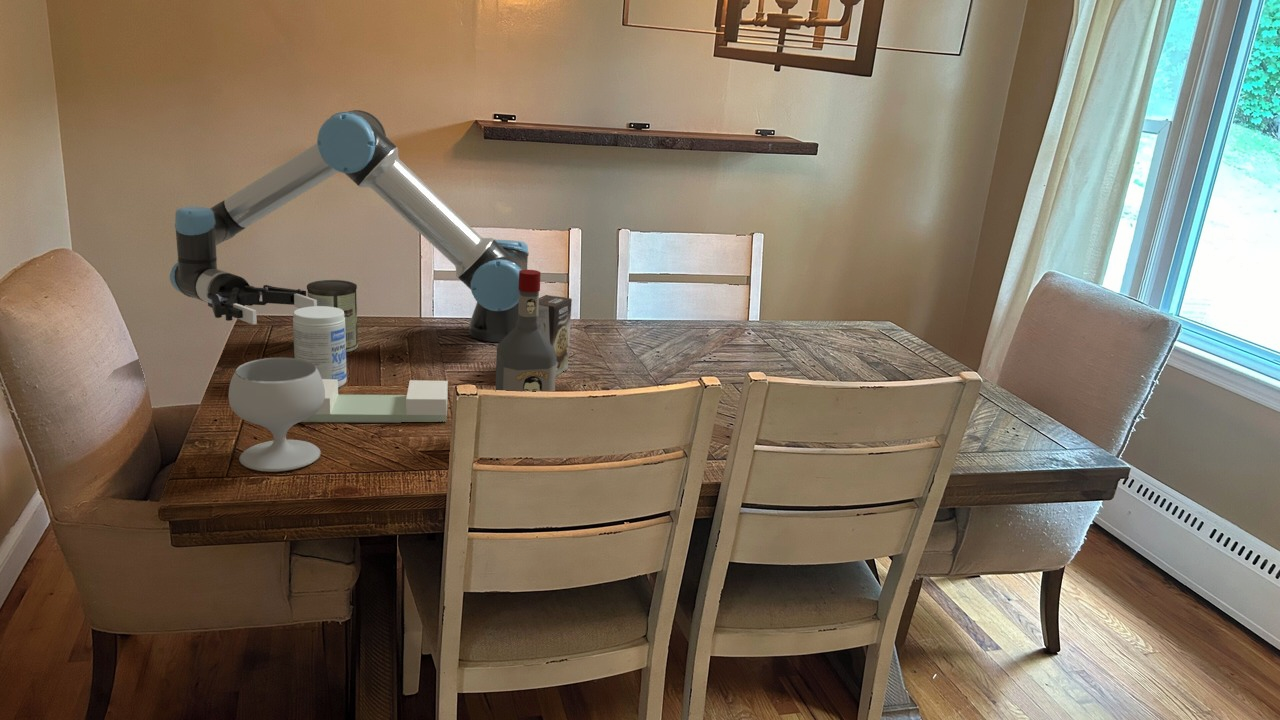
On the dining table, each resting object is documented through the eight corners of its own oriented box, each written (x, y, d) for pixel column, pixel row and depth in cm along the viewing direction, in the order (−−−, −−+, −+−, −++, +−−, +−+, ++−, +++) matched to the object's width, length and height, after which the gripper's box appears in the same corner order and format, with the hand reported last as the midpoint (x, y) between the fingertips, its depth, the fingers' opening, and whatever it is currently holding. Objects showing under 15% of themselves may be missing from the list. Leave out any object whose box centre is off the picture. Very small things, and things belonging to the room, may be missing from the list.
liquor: (491, 430, 160) (496, 266, 151) (541, 426, 164) (548, 265, 155) (503, 450, 152) (509, 278, 143) (555, 446, 156) (564, 278, 147)
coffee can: (321, 338, 203) (319, 277, 199) (365, 343, 203) (364, 282, 198) (300, 351, 194) (298, 288, 189) (346, 356, 193) (345, 292, 189)
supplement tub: (344, 392, 173) (342, 318, 168) (292, 392, 170) (289, 318, 166) (348, 375, 182) (346, 305, 177) (299, 375, 179) (296, 304, 175)
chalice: (227, 479, 135) (220, 385, 130) (238, 442, 147) (232, 355, 143) (325, 473, 139) (322, 383, 134) (328, 438, 152) (325, 354, 147)
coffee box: (551, 381, 188) (554, 306, 183) (523, 375, 190) (526, 301, 185) (569, 369, 196) (573, 297, 191) (542, 364, 198) (546, 293, 193)
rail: (447, 402, 171) (447, 380, 170) (446, 422, 162) (446, 399, 161) (298, 401, 166) (298, 378, 165) (288, 422, 157) (287, 397, 156)
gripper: (277, 298, 199) (338, 319, 188) (167, 317, 180) (228, 341, 168) (276, 265, 197) (338, 285, 186) (164, 280, 177) (226, 303, 166)
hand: (286, 312), depth 177 cm, fingers open, 13 cm apart
